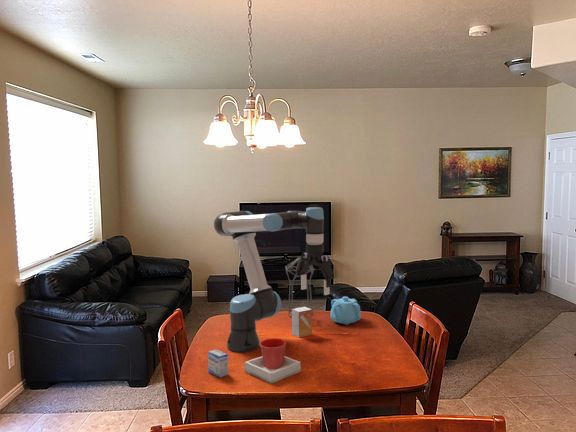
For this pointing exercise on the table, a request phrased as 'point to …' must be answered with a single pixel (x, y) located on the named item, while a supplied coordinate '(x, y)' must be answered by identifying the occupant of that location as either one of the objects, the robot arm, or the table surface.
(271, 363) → the flower pot
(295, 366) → the white square tray
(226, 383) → the table surface
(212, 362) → the medicine box
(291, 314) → the geometric lantern
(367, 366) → the table surface
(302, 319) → the small box
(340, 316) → the decorative pot
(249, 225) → the robot arm
